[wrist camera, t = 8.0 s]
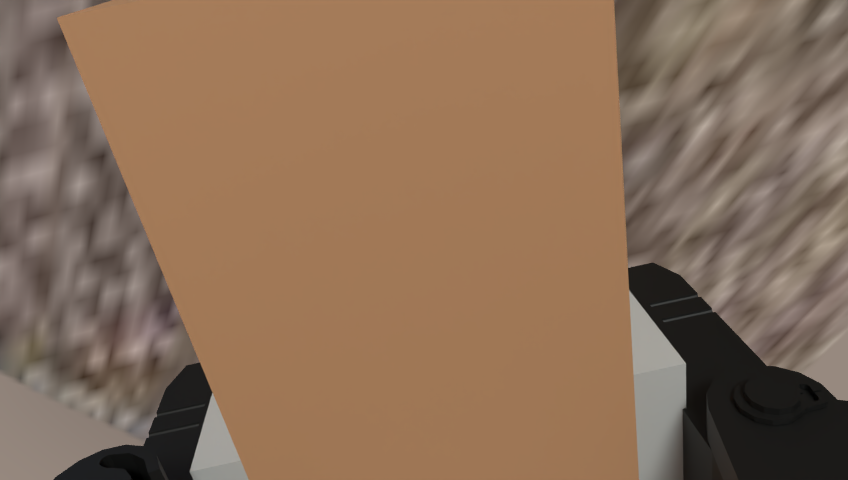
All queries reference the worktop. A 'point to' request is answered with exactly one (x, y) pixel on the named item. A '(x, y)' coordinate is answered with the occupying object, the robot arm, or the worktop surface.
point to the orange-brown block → (385, 225)
